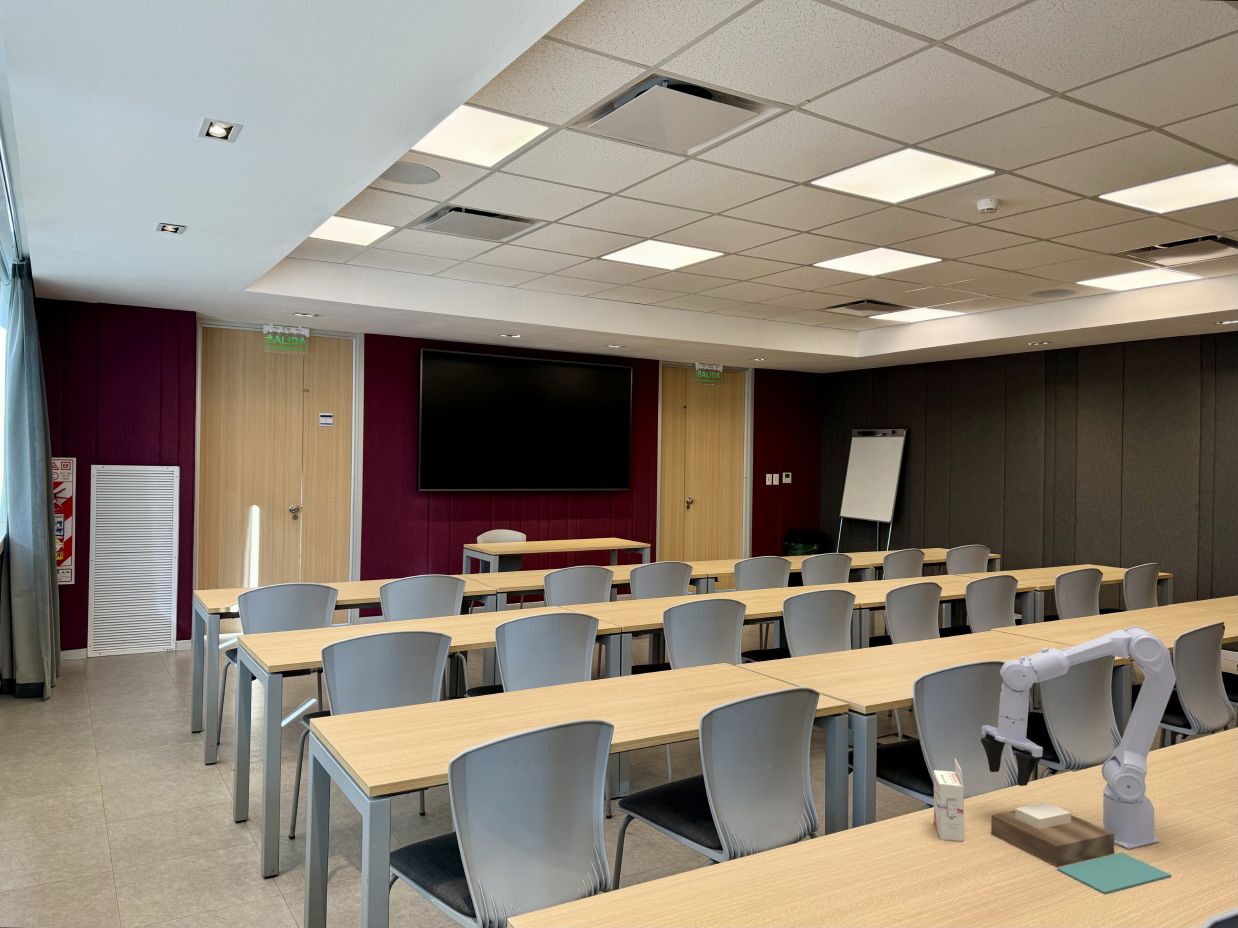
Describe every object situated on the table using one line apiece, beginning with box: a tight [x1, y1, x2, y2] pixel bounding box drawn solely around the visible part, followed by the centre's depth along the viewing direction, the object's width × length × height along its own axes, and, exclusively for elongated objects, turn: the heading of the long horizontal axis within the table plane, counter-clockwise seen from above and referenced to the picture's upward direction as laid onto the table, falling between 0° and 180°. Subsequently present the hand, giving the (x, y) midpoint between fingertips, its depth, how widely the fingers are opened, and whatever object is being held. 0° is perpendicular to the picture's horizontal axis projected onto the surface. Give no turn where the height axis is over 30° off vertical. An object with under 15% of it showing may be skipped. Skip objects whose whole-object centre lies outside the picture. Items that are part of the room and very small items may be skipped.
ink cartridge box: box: [933, 758, 965, 842], centre depth 177 cm, size 9×5×15 cm, turn 168°
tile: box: [1014, 801, 1072, 829], centre depth 174 cm, size 9×6×2 cm, turn 112°
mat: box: [1056, 852, 1172, 895], centre depth 159 cm, size 18×10×1 cm, turn 112°
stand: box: [990, 809, 1115, 868], centre depth 172 cm, size 16×16×4 cm
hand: (1008, 777), depth 182 cm, fingers open, 7 cm apart
